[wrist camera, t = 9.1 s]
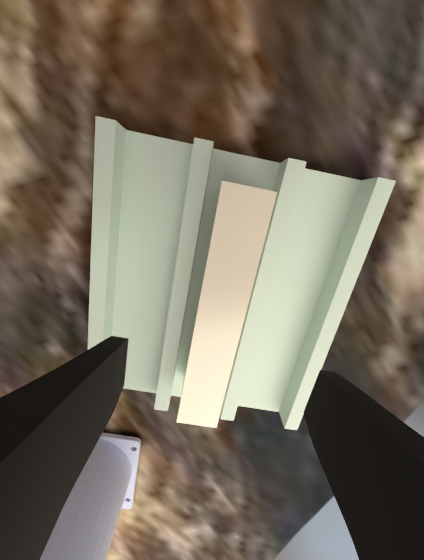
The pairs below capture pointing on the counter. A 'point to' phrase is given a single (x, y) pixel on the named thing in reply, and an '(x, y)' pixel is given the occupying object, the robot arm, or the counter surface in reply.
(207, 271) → the clay strip
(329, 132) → the counter surface
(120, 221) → the ridged mint rail
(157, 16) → the counter surface
